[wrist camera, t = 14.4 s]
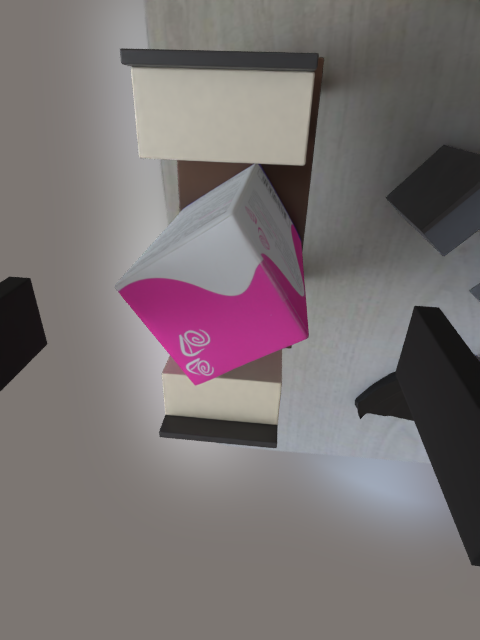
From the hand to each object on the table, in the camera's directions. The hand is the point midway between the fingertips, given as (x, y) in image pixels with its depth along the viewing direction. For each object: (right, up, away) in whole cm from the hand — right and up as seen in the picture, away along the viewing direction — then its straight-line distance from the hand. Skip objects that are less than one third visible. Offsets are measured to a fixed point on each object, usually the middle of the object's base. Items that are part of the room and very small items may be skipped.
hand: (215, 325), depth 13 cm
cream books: (+1, +6, +11) cm, 13 cm away
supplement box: (+1, +6, +11) cm, 13 cm away
